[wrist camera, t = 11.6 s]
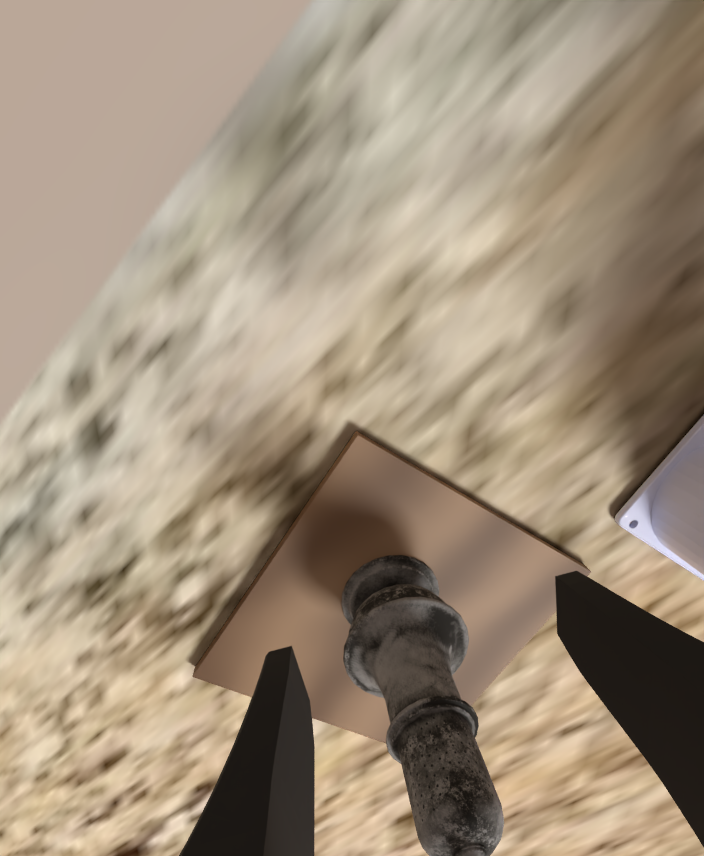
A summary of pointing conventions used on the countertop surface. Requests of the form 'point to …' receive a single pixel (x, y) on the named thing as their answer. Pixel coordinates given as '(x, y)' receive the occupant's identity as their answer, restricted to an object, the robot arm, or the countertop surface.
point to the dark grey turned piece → (422, 701)
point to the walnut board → (373, 538)
